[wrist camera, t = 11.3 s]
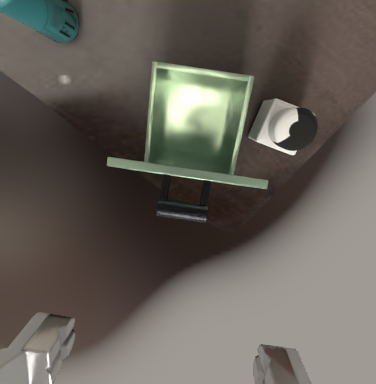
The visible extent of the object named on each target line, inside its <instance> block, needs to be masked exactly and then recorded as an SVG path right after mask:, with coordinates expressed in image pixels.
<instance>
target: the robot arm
mask: <svg viewBox="0 0 376 384" xmlns="http://www.w3.org/2000/svg"><path fill="white" fill-rule="evenodd" d="M74 324H75V321H74V318H71V317H65V316H58V315H53V314H47V313H40V312H38V313H37V314H35V315H34V316H33V318H32V319H31V320H30V321H29V323H28V324H27V325H26V326H25V327H24V329H23V330H22V331H21V332H20V334H19V335H18V336H17V337H16V338H15V340H14V341H13V342H12V343H11V345H10V346H9V347H8V348H3V349H1V350H0V384H53V383H54V381H55V379H56V377H57V375H58V374H59V372H60V370H61V361H62V360H64V359H65V358H67V357H68V355H69V353H70V351H71V349H72V346H73V343H74V338H75V331H74V330H73V329H72V328H73V326H74ZM258 354H259V355H258V356H256V357H255V359H254V365H253V374H254V380H255V384H311V382H310V380H309V377H308V375H307V372H306V370H305V368H304V365H303V363H302V361H301V358H300V356H299V354H298V352H297V350H296V349H291V348H283V347H278V346H271V345H263V344H261V345H259V348H258Z"/></svg>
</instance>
